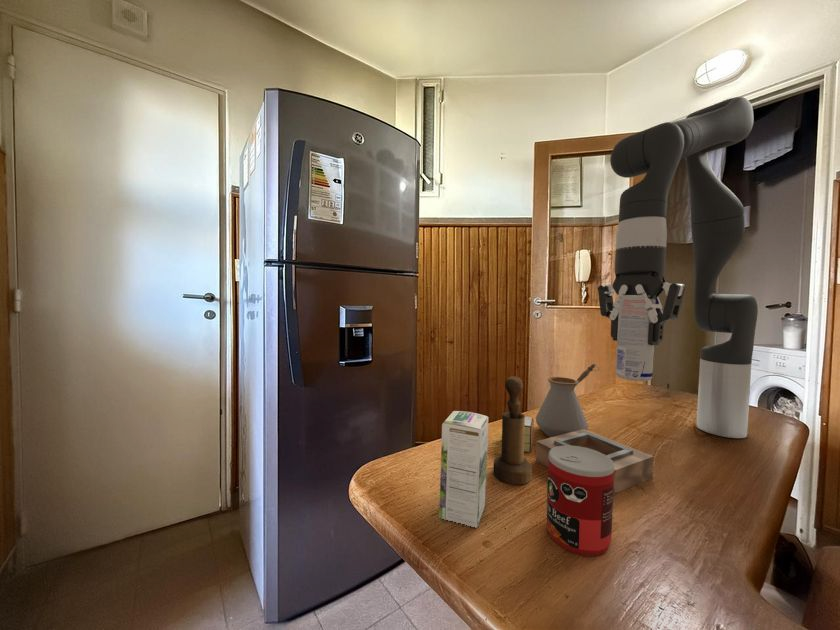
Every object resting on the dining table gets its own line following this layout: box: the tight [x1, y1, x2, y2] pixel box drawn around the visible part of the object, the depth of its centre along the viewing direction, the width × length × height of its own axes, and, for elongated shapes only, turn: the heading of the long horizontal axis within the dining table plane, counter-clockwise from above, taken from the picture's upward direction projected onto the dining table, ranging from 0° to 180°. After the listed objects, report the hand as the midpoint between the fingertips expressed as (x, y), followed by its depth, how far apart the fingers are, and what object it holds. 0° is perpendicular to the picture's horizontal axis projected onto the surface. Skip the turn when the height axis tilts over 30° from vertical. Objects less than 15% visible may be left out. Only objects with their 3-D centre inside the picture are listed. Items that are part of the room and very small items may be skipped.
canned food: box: [545, 445, 614, 557], centre depth 46 cm, size 8×8×11 cm
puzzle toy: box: [524, 416, 535, 453], centre depth 74 cm, size 6×6×6 cm
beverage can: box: [614, 295, 657, 382], centre depth 61 cm, size 6×6×15 cm
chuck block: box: [535, 429, 654, 495], centre depth 64 cm, size 14×14×5 cm
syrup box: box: [438, 410, 489, 529], centre depth 50 cm, size 6×6×14 cm
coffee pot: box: [535, 363, 600, 438], centre depth 83 cm, size 21×12×15 cm, turn 127°
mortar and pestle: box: [492, 375, 532, 486], centre depth 61 cm, size 7×6×18 cm
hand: (634, 342), depth 61 cm, fingers closed on beverage can, 5 cm apart
